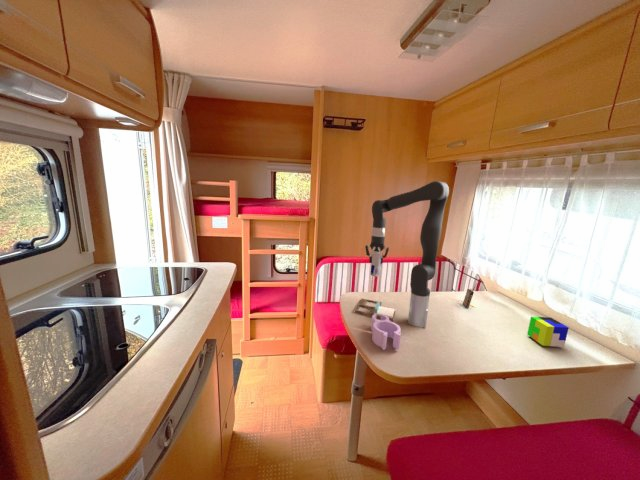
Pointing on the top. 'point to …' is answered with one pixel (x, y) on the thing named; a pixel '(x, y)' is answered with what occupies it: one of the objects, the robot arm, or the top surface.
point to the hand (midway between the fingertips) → (375, 263)
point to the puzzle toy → (547, 331)
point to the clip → (385, 331)
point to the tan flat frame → (362, 304)
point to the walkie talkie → (468, 298)
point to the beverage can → (376, 264)
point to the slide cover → (383, 310)
